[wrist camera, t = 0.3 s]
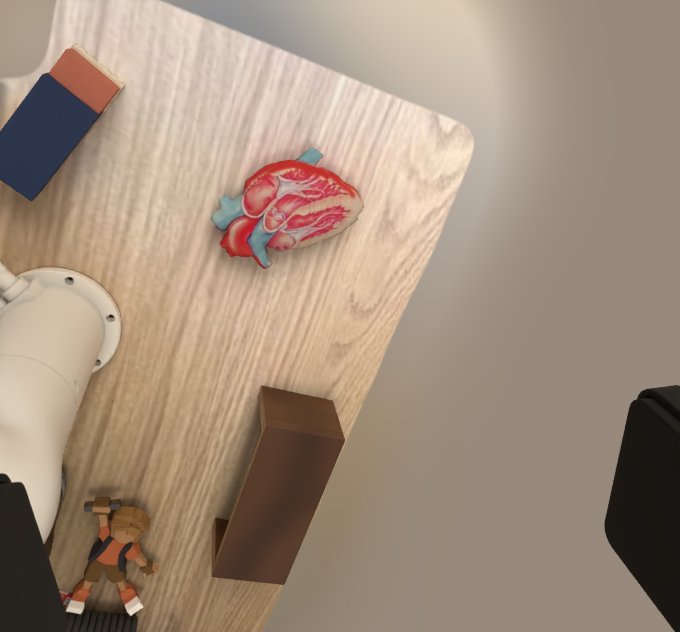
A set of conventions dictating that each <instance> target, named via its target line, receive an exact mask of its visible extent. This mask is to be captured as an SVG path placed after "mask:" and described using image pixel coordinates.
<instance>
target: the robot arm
mask: <svg viewBox="0 0 680 632" xmlns="http://www.w3.org/2000/svg"><path fill="white" fill-rule="evenodd" d="M69 277H71V278H73V280H70V279H69ZM110 315H113V316H114V317H111V316H110ZM121 330H122V324H121V316H120V313H119V311H118V308H117V305H116V304H115V302H114V300H113V299H112V297H111V296H110V295H109V294H108V293H107V291H106V290H105V289H104V288H103V287H102V286H100V285H99V284H98V283H97V282H95V281H94V280H92V279H91V278H89V277H87V276H85V275H83V274H81V273H78V272H75V271H72V270H68V269H62V268H47V267H44V268H38V269H32V270H29V271H26V272H24V273H21V274H19V275H17V276H14V275H13V274H12V273H11V272H10V271H9V270H8V269H6V267H5V266H4V265H3V264H2V263H1V262H0V632H67V616H66V611H65V607H64V604H63V601H62V598H61V595H60V592H59V589H58V586H57V583H56V580H55V577H54V574H53V571H52V567H51V564H50V561H49V558H48V555H47V552H46V549H45V546H44V543H45V541H46V540H47V538H48V536H49V534H50V531H51V529H52V526H53V523H54V520H55V517H56V514H57V510H58V506H59V501H60V493H61V476H62V461H63V455H64V451H65V447H66V444H67V441H68V438H69V435H70V432H71V429H72V426H73V423H74V421H75V418H76V415H77V413H78V410H79V407H80V404H81V402H82V399H83V396H84V393H85V391H86V388H87V385H88V382H89V380H90V377H91V374H92V373H94V372H96V371H97V370H99V369H101V368H102V367H103V366H104V365H105V364H106V363H108V362H109V360H110V359H111V358H112V356H113V355H114V354H115V351H116V349H117V347H118V345H119V341H120V338H121ZM97 359H98V360H97ZM605 533H606V536H607V539H608V541H609V543H610V545H611V547H612V548H613V549H614V551H615V552H616V553H617V555H618V556H619V557H620V559H621V560H622V561H623V563H624V564H625V565H626V567H627V568H628V570H629V571H630V572H631V573H632V575H633V576H634V577H635V579H636V580H637V581H638V583H639V584H640V585H641V587H642V588H643V589H644V591H645V592H646V593H647V595H648V596H649V598H650V599H651V600H652V602H653V603H654V604H655V605H656V607H657V608H658V610H659V611H660V612H661V614H662V615H663V616H664V618H665V619H666V620H667V622H668V623H669V624H670V626H671V627H672V628H673V630H674V631H675V632H680V386H678V385H674V386H667V387H659V388H651V389H646V390H643V391H642V392H641V393H640V394H639V395H638V398H637V400H634V401H633V402H632V403H631V405H630V407H629V412H628V416H627V421H626V425H625V430H624V435H623V439H622V444H621V449H620V453H619V458H618V463H617V467H616V472H615V477H614V481H613V486H612V491H611V496H610V500H609V504H608V509H607V514H606V518H605Z"/></svg>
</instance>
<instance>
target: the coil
mask: <svg viewBox="0 0 680 632" xmlns="http://www.w3.org/2000/svg"><path fill="white" fill-rule="evenodd" d="M66 609H67V608H65V611H66ZM68 615H69V617H68ZM66 616H67V619H68V621H67V632H71V631H72V632H136V629H137V623H138V618H137V616H136V615H134V616H132V617H131V616H130V615H126V616H125V617H124V615H123V614H120V615H119V616H118V615H117V614H116V613H113V614H112V615H111V614H110V613H109V612H107V613H106V614H105V615H104V613H103V612H99V613H98V615H97V612H96V611H93V612H92V613H91V615H90V611H89V610H86V611H85V612H84V615H83V611H82V613H81V614H78V613H77V615H76V613H72V612H70V614H69V612H67V611H66ZM75 616H76V618H75ZM82 617H83V618H82ZM74 619H75V622H74ZM81 621H82V622H81ZM73 623H74V626H73ZM80 624H81V626H80ZM72 627H73V629H72ZM79 628H80V631H79ZM86 629H87V630H86Z"/></svg>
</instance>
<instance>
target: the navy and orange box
mask: <svg viewBox="0 0 680 632" xmlns="http://www.w3.org/2000/svg"><path fill="white" fill-rule="evenodd" d="M124 87H125V84H123V83H122V82H121V81H120V80H119V79H118V78H116V77H115V76H114V75H113V74H112V73H110V72H109V71H108V70H107V69H106V68H105V67H103V66H102V65H101V64H100V63H99V62H97V61H96V60H95V59H94V58H93V57H92V56H90V55H89V54H88V53H87V52H86V51H84V50H83V49H82V48H81V47H80V46H78V45H77V44H74V45H73V46H72V47H71V49H66V50H65V52H64V53H63V54H62V56H61V57H60V59H59V60H58V61H57V63H56V64H55V65H54V67H53V68H52V69H51V71H50V72H49V73H45V74H42V76H41V77H40V78H39V80H38V81H37V83H36V84H35V85H34V87H33V88H32V89H31V91H30V92H29V93H28V95H27V96H26V97H25V99H24V100H23V101H22V103H21V104H20V105H19V107H18V108H17V110H16V111H15V112H14V114H13V115H12V116H11V118H10V119H9V120H8V122H7V123H6V124H5V126H4V127H3V128H2V130H1V131H0V180H1V181H3V182H4V183H6V184H7V185H9V186H10V187H11V188H13V189H14V190H16V191H17V192H19V193H20V194H21V195H23V196H24V197H26V198H27V199H28V200H30V201H32V200H33V199H34V198H35V197H37V196H38V195H40V194H41V193H42V192H43V191H44V189H45V188H46V187H47V186H48V184H49V183H50V182H51V180H52V179H53V178H54V177H55V175H56V174H57V173H58V171H59V170H60V169H61V168H62V166H63V165H64V164H65V162H66V161H67V160H68V159H69V157H70V156H71V155H72V153H73V152H74V151H75V150H76V148H77V147H78V146H79V144H80V143H81V142H82V141H83V139H84V138H85V137H86V135H87V134H88V133H89V132H90V130H91V129H92V128H93V126H94V125H95V124H96V123H97V121H98V120H99V119H100V117H101V116H102V115H103V114H104V112H105V111H106V110H107V108H108V107H109V106H110V105H111V103H112V102H113V101H114V99H115V98H116V97H117V96H118V94H119V93H120V92H121V90H122V89H123V88H124Z"/></svg>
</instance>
